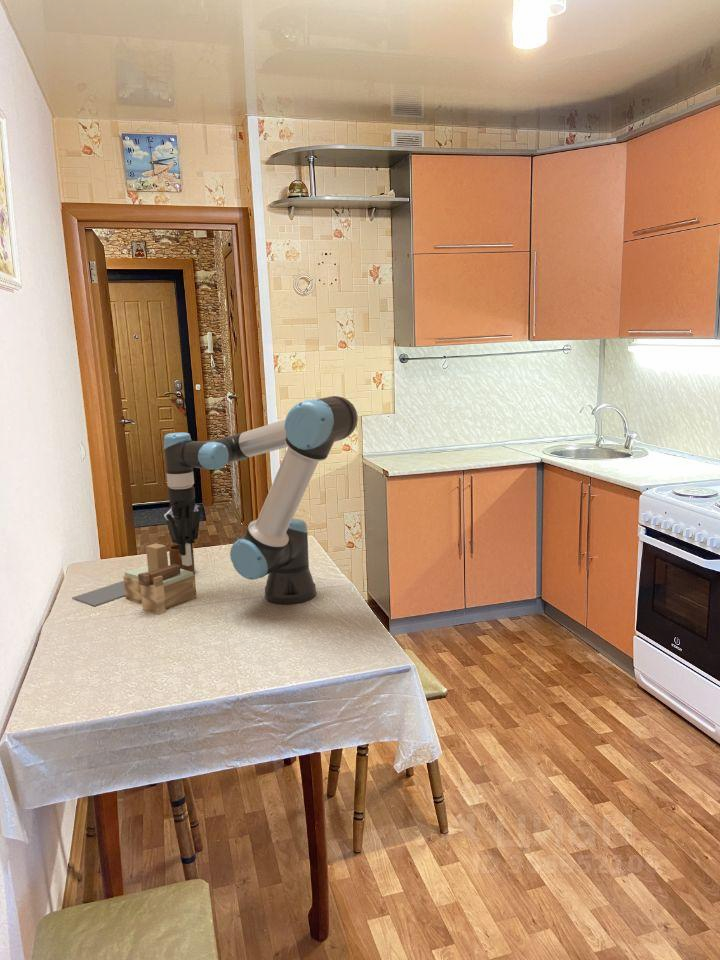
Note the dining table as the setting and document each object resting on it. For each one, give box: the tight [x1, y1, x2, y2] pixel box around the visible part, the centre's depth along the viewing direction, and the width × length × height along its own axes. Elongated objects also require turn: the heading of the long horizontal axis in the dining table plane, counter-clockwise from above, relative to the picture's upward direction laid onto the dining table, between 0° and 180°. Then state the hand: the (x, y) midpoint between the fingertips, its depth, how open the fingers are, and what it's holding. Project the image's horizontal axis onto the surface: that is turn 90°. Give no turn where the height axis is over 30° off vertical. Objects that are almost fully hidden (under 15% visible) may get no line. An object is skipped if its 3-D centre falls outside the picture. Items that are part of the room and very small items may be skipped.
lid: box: [124, 542, 194, 586], centre depth 210 cm, size 18×11×10 cm, turn 52°
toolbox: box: [122, 572, 198, 615], centre depth 210 cm, size 19×14×10 cm
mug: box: [168, 544, 195, 575], centre depth 231 cm, size 12×8×9 cm, turn 15°
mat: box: [71, 580, 125, 608], centre depth 218 cm, size 12×20×1 cm, turn 142°
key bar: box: [138, 564, 181, 587], centre depth 203 cm, size 3×12×3 cm, turn 142°
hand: (187, 564), depth 210 cm, fingers closed
